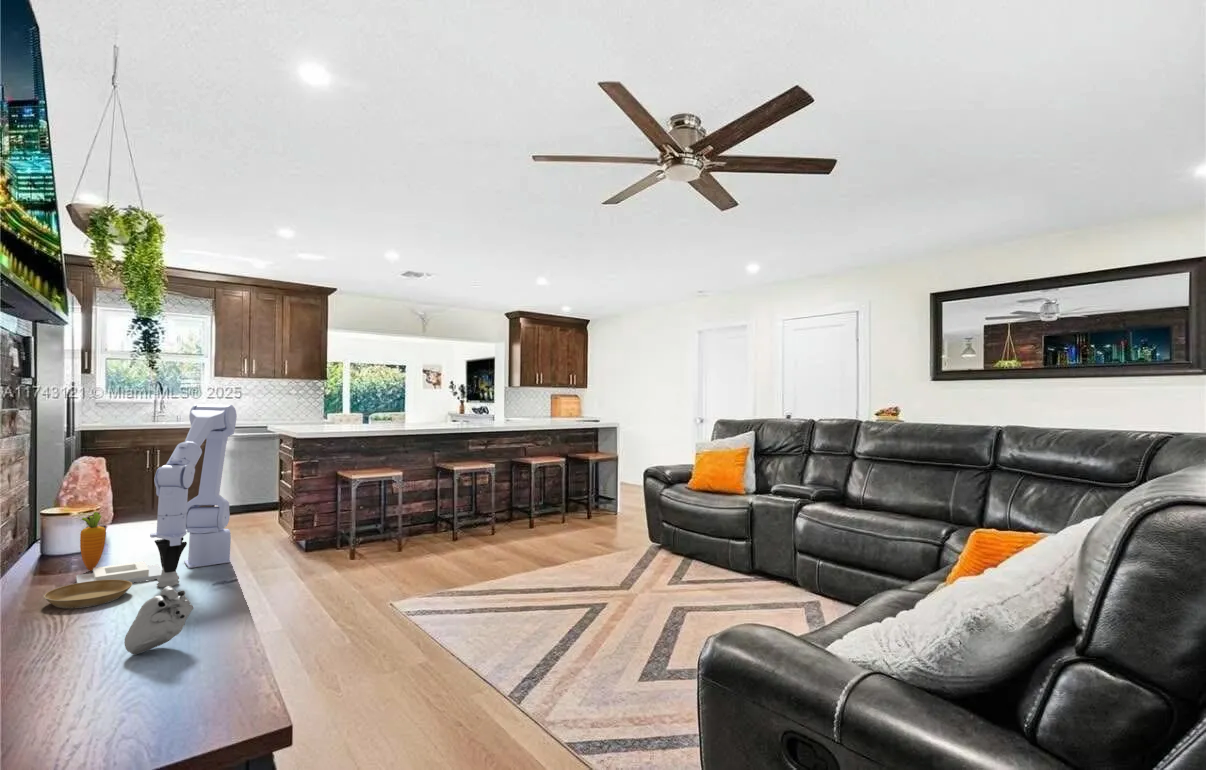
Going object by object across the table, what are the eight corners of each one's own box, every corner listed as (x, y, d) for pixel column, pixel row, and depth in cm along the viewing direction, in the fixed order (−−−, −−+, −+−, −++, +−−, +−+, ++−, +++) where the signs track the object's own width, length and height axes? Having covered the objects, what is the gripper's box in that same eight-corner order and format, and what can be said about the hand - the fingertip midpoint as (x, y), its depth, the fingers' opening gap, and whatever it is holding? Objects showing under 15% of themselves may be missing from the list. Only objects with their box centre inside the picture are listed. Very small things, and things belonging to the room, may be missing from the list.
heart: (184, 631, 111) (174, 572, 109) (204, 643, 105) (194, 581, 104) (118, 658, 102) (107, 594, 101) (137, 672, 97) (125, 605, 96)
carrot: (91, 573, 146) (95, 514, 146) (72, 573, 146) (76, 514, 146) (108, 568, 151) (112, 511, 151) (90, 567, 151) (93, 510, 151)
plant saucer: (128, 586, 138) (129, 575, 138) (135, 602, 127) (136, 590, 127) (43, 599, 127) (43, 587, 127) (42, 618, 117) (43, 605, 117)
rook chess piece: (183, 583, 140) (185, 550, 140) (164, 588, 136) (166, 555, 136) (171, 581, 141) (173, 548, 142) (151, 586, 137) (154, 553, 138)
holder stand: (157, 567, 152) (158, 558, 152) (163, 578, 144) (164, 568, 144) (76, 579, 141) (76, 569, 141) (77, 591, 132) (78, 580, 133)
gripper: (147, 511, 142) (144, 566, 141) (155, 520, 131) (152, 580, 131) (182, 508, 147) (179, 561, 146) (192, 517, 136) (189, 574, 136)
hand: (168, 570), depth 139 cm, fingers closed on rook chess piece, 3 cm apart
